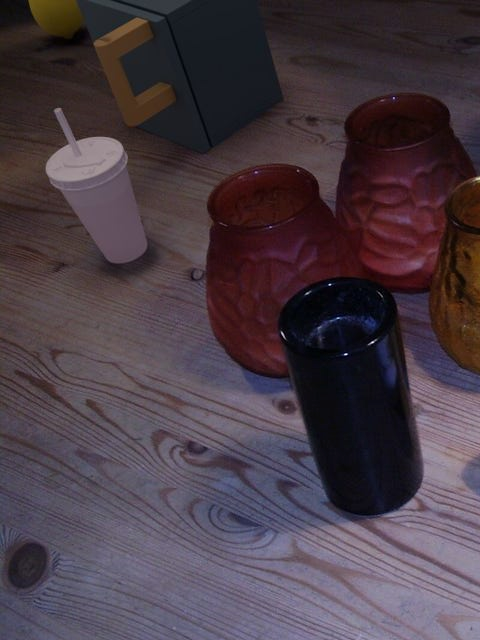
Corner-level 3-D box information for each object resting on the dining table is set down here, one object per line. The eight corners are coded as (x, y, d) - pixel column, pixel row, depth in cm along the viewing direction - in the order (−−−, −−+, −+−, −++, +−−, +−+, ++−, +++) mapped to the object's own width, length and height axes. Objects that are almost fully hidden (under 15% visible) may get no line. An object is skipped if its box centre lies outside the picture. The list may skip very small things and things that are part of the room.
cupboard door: (162, 182, 94) (109, 49, 85) (84, 149, 100) (26, 20, 90) (211, 149, 98) (165, 17, 88) (133, 118, 103) (82, -9, 94)
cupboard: (213, 149, 98) (166, 14, 88) (135, 118, 104) (83, -12, 94) (284, 100, 103) (248, -33, 93) (206, 73, 109) (164, -55, 99)
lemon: (36, 44, 118) (7, -21, 112) (73, 23, 121) (46, -42, 115) (66, 54, 116) (37, -13, 110) (102, 32, 118) (76, -34, 113)
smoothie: (122, 221, 91) (60, 84, 81) (177, 236, 88) (120, 95, 78) (74, 265, 87) (3, 126, 77) (131, 281, 85) (65, 140, 75)
